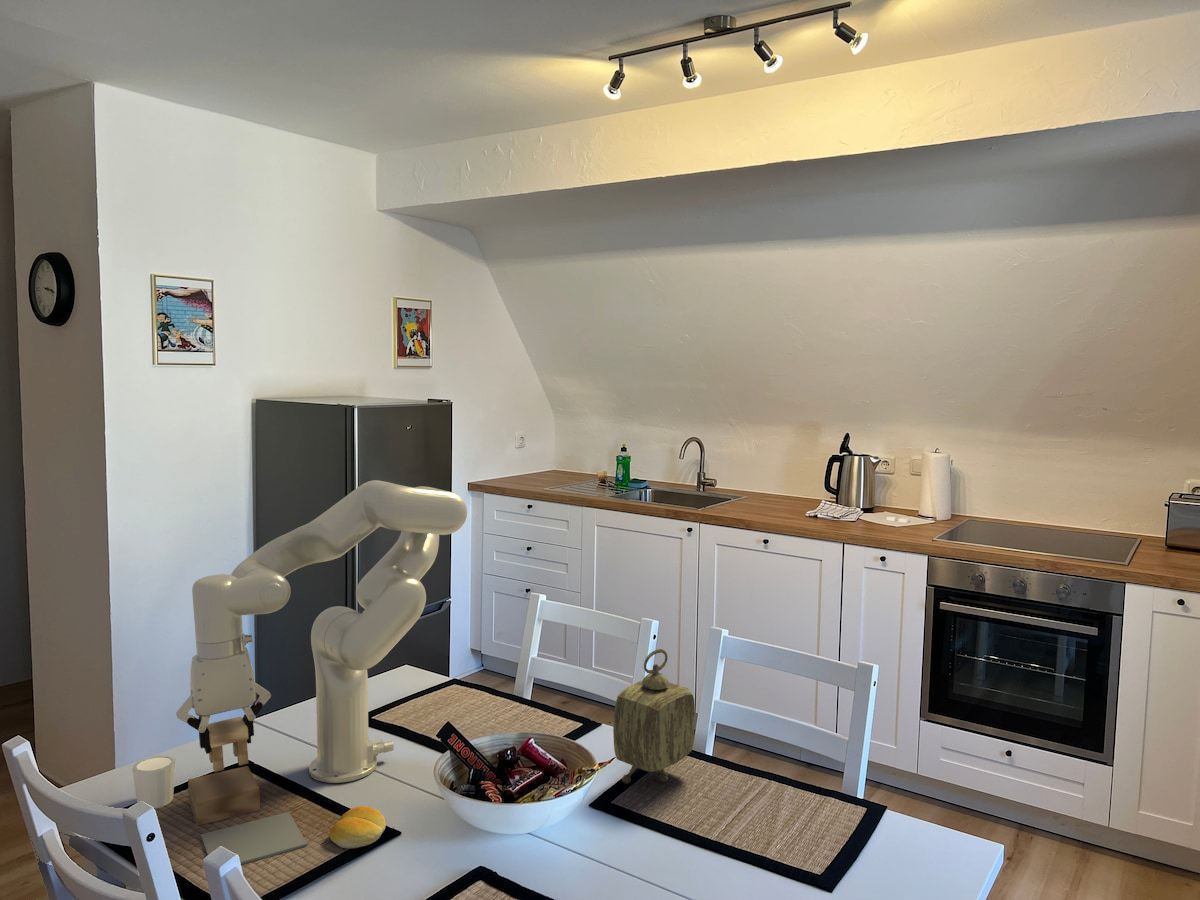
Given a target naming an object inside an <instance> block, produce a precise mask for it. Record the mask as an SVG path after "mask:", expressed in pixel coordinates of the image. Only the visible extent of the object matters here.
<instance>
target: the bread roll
mask: <svg viewBox="0 0 1200 900" xmlns="http://www.w3.org/2000/svg"><path fill="white" fill-rule="evenodd" d="M386 826H387V825H386V819H385V817H384V815H383V814H382V812H381V811H379V810H378V809H376V808H374V807H371V806H367V805H361V806H356V807H353V808H351V809H349V810H348V811H346V812H344V813H343V814H342V815H341V817H340V819H339V820H338V821H337V822H335V824H333V826H332V827H331V828H330V831H329V838H330V840H331V841H332V842H333V843H335V845H337V846H339V847H340V848H342V849H343V848H344V849H358V848H363V847H366V846H370V845H371V844H373V843H375V842H376V841H378V839H380V838H381V836H382V834H383V833H384V831H385V829H386Z"/></svg>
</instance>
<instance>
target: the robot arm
mask: <svg viewBox="0 0 1200 900" xmlns="http://www.w3.org/2000/svg"><path fill="white" fill-rule="evenodd" d="M467 518H468V508H467V505H466V503H465V501H464V499H463V497H461V496H460V495H458V494H457V493H455V492H453V491H448V490H445V489H439V488H436V487H430V486H421V485H420V486H416V487H413V486H412V487H411V486H407V485H402V484H396V483H393V482H389V481H383V480H377V479H375V480H369V481H367V482H366V481H365V482H364V483H362V484H361V485H359V486H358V487H357V488H355V489H354V490H352V491H351V492H349V493H348V494H347V495H345V496H344V497H343V498H341V499H340V500H339V501H337V502H336V503H335V504H334V505H332V506H330V507H329V508H328V509H327V510H326V511H324V512H322V513H321V514H320V515H318V516H317V517H316V518H315V519H313V520H311V521H309V522H308V523H306V524H304V525H301V526H299V527H297V528H294V529H292V530H291V531H289V532H287V533H285V534H282V535H280V536H278V537H276V538H274V539H272V540H271V541H268V542H267V543H266V544H264V545H263V546H261V547H260V548H258V549H257V550H255V552H253V553H252V554H250V555H249V556H248V557H246V558H245V559H244V560H241V562H240V563H238V564H237V566H236V567H235V568H234V570H232V572H231V574H212V575H208V576H203V577H201V578H199V579H197V580H196V581H194V583H193V585H192V589H191V590H192V591H191V592H192V594H191V595H192V604H193V605H192V606H193V607H192V608H193V620H194V633H195V635H194V636H195V645H196V655H194V656H192V658H191V664H190V675H189V676H190V684H189V685H190V686H189V687H190V695H189V697H188V698H187V699H185V701H184V702H183V703H182V705H181V706H179V709H177V710H176V712H175V716H176V718H177V720H180V721H182V722H183V723H186V724H188V726H189V727H191V728H193V729H195V730H197V731H198V738H199V747H200V749H204V751H205V753H206V754H207V755H209V753H210V752H211V746H210V738H209V734H210V733H209V730H208V728H207V725H208V724H209V721H210V718H211V716H213V715H217V714H222V713H226V712H227V713H228V712H231V711H236V710H240V709H242V711H243V713H244V715H243V716H242V720H243V721H244V723H245V725H246V726H247V728H248V738H249V739H247V745H248V744H251V743H252V737H253V736H255V729H254V728H255V725H254V720H255V719H256V716H257V715H258V714H259V712H260V711H261V710H262V709H263V706H264V705H266V703H268V701H269V700H270V699H271V697H272V694H271V692H269V690H267V689H266V688H264V687H262V686H261V685H260V684H258V683H257V682H255V676H254V669H253V665H252V663H253V662H252V659H251V655H250V651H249V649H248V647H246V646H247V645H248V644H249V643H252V642H253V635H252V634H245V633H243V632H244V631H243V616H247V615H248V616H250V615H266V614H271V613H274V612H277V611H279V610H280V609H283V608H284V607H285V605H286V604H287V603H288V602H289V600H290V597H291V585H290V583H289V581H288V579H286V576H288V575H289V574H291V573H293V572H295V571H297V570H298V569H301V568H303V567H305V566H309V565H312V564H313V565H314V564H318V563H323V562H324V563H325V562H329V561H333V560H335V559H339V558H341V557H342V556H344V555H345V554H346V553H347V552H349V551H350V550H351V549H352V548H354V547H355V546H357V545H358V544H359V543H360V542H361V541H363V540H364V539H366V537H368V536H369V535H370V534H372V533H373V532H374V531H376V530H377V529H378V528H385V529H387V530H392V531H399V532H400V535H399V537H398V539H397V541H396V542H395V543H394V544H393V546H392V547H391V548H390V549H389V550H388V551H387V552H386V553H385V554H384V555H383V557H381V558H380V560H378V562H377V563H376V564H375V565H374V566H372V568H371V569H369V571H368V572H367V573H366V574H365V575H364V576H363V577H362V578H361V579H360V581H359V582H358V584H357V586H356V590H355V599H356V601H357V603H358V604H359V605H360V607H361V608H363V609H364V610H363V611H362V612H359V611H357V610H355V609H353V608H350V607H348V606H341V605H340V606H339V605H337V606H331V607H328V608H326V609H324V610H323V611H322V612H320V613H319V614H318V615H317V617H316V618H315V619H314V621H313V624H312V627H311V633H310V644H311V650H312V657H313V661H314V669H315V670H314V671H315V691H316V693H315V697H316V698H315V702H316V703H315V707H316V708H315V709H316V748H317V749H316V751H317V757H316V758H314V759H313V760H312V761H311V762H310V763H309V767H308V772H309V773H308V774H309V775H310V777H311V778H313V779H314V780H316V781H319V782H321V783H330V784H331V783H332V784H339V783H348V782H353V781H354V782H355V781H356V780H360V779H363V778H365V777H367V776H368V775H370V774H371V773H373V772H374V771H375V770H376V769H377V767H378V758H377V757H378V755H379V754H382V753H389V752H393V751H394V743H393V740H390V741H389V740H388V741H385V742H383V739H382V738H381V739H380V738H379V739H376V740H373V741H371V740H370V739H369V696H368V695H369V677H368V676H369V675H368V670H369V669H371V668H372V667H375V666H376V665H377V664H379V662H381V661H382V660H383V659H384V658H385V657H386V656H387V655H388V654H389V652H390V651H392V649H393V648H394V647H395V646H396V645H397V644H398V643H399V642H400V640H402V639H403V637H404V636H405V635H406V634H407V633H408V632H409V631H410V630H411V628H412V627H413V626H414V625H415V624H416V623H417V621H418V620H419V619H420V618H421V615H422V614H423V612H424V609H425V606H426V603H427V593H426V588H425V586H424V584H423V583H422V581H421V579H422V578H423V577H424V576H425V575H426V574H427V572H428V571H429V570H430V569H431V567H432V566H433V564H434V563H435V560H436V558H437V555H438V553H439V548H440V547H439V546H440V536H447V535H452V534H454V533H456V532H458V531H459V530H460V529H461V528H462V527H463V526H464V524H465V523H466V521H467ZM257 695H258V696H259V697H258V698H257ZM192 709H194V713H195V715H196V716H197V717H196V716H194V715H192V714H190V713H189V711H191V710H192Z"/></svg>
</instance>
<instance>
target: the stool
mask: <svg viewBox="0 0 1200 900" xmlns="http://www.w3.org/2000/svg"><path fill="white" fill-rule="evenodd" d="M242 718H243V716H241V715H240V716H236V717H232V718H228V719H223V720H220V721H214V722H210V723H208V725H207V728H208V730H209V733H210V734H209V738H210V746H211V752H210V753H208V756H209V757H208V760H209V762H210V764H212V769H213V771H214V773H218V772H219V771H220V772H222V771H225V765H224V751H223V746H226V745H230V744H232V750H233V751H232V753H233V755H234V757H236V759H237V764H238V765H239V766H243V765H244V766H245V765H247V764H249V754H248V753H249V750H248V743H247V739H249V738H248V728H247V726H246V725H245V723H244V721H243V720H242Z"/></svg>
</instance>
